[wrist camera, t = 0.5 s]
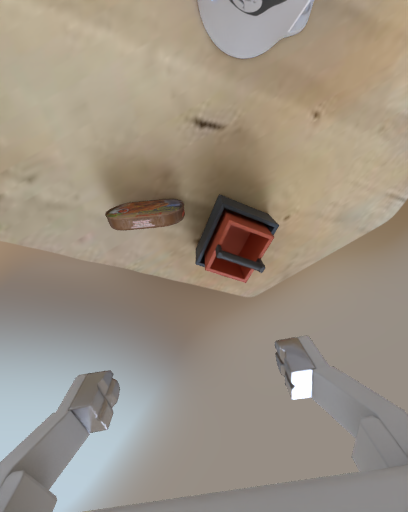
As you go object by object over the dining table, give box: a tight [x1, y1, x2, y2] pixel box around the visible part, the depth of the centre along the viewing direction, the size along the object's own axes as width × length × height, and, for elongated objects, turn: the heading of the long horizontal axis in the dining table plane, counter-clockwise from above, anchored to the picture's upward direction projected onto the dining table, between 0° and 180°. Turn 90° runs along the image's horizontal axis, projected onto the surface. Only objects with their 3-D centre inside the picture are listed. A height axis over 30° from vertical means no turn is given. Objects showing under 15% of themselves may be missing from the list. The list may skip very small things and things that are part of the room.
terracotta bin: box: [204, 208, 274, 283], centre depth 40 cm, size 11×9×12 cm
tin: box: [105, 199, 185, 230], centre depth 39 cm, size 15×3×8 cm, turn 95°
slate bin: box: [196, 194, 279, 267], centre depth 43 cm, size 14×12×7 cm
